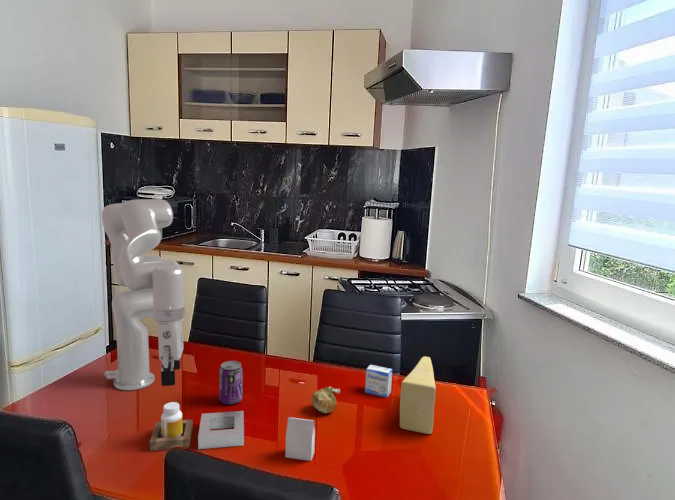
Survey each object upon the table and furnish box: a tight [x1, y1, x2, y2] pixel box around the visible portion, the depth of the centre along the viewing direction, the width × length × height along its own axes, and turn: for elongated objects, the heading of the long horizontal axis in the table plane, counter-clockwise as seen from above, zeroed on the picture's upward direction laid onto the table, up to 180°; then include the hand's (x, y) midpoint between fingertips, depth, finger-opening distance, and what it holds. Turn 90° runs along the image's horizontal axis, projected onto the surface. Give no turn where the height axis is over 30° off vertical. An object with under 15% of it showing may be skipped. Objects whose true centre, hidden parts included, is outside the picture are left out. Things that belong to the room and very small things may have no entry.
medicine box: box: [364, 364, 393, 399], centre depth 153 cm, size 8×4×9 cm, turn 68°
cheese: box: [399, 356, 437, 435], centre depth 141 cm, size 22×10×15 cm, turn 162°
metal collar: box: [197, 410, 245, 450], centre depth 126 cm, size 12×12×4 cm
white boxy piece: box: [284, 416, 316, 462], centre depth 118 cm, size 4×7×10 cm, turn 81°
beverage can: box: [218, 360, 244, 406], centre depth 144 cm, size 7×7×12 cm
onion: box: [311, 386, 341, 414], centre depth 141 cm, size 8×8×8 cm
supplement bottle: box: [160, 401, 184, 438], centre depth 123 cm, size 5×5×10 cm
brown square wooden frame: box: [149, 419, 194, 452], centre depth 123 cm, size 10×10×2 cm
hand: (171, 376), depth 120 cm, fingers open, 9 cm apart
